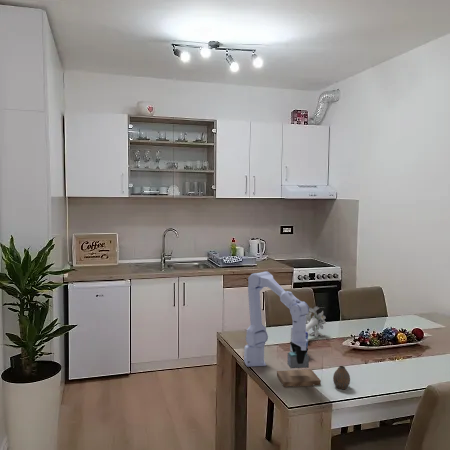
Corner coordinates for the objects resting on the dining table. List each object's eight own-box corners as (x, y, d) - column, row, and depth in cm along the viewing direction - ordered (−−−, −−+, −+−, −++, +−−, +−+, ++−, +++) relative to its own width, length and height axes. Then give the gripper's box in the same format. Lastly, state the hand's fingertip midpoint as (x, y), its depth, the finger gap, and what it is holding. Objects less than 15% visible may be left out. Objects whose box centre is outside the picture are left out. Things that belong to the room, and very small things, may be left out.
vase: (347, 383, 190) (347, 363, 190) (352, 390, 184) (352, 370, 183) (331, 383, 190) (331, 363, 190) (335, 390, 183) (336, 370, 183)
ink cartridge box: (308, 356, 222) (308, 328, 221) (297, 357, 220) (298, 329, 219) (299, 350, 231) (300, 322, 230) (289, 351, 230) (290, 323, 229)
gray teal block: (308, 367, 191) (308, 356, 191) (290, 368, 190) (290, 357, 190) (305, 363, 196) (305, 352, 196) (287, 364, 195) (287, 352, 195)
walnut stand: (283, 387, 186) (284, 382, 186) (276, 375, 198) (276, 371, 198) (320, 385, 189) (320, 380, 189) (311, 373, 201) (311, 369, 200)
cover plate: (306, 357, 192) (306, 353, 192) (291, 358, 191) (291, 353, 191) (303, 354, 195) (303, 350, 195) (289, 355, 195) (289, 350, 194)
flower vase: (305, 356, 241) (328, 334, 258) (307, 327, 234) (330, 307, 251) (285, 346, 249) (308, 326, 266) (286, 318, 242) (310, 299, 259)
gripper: (313, 335, 186) (312, 367, 186) (303, 325, 200) (302, 354, 201) (297, 335, 185) (296, 367, 186) (287, 325, 199) (287, 355, 200)
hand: (298, 361), depth 193 cm, fingers closed on gray teal block, 5 cm apart
